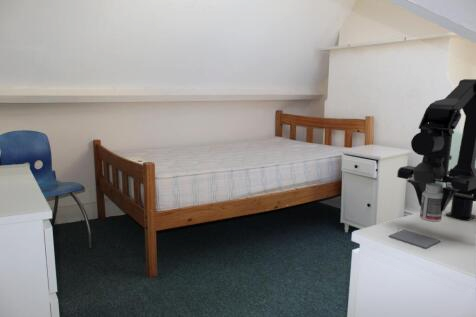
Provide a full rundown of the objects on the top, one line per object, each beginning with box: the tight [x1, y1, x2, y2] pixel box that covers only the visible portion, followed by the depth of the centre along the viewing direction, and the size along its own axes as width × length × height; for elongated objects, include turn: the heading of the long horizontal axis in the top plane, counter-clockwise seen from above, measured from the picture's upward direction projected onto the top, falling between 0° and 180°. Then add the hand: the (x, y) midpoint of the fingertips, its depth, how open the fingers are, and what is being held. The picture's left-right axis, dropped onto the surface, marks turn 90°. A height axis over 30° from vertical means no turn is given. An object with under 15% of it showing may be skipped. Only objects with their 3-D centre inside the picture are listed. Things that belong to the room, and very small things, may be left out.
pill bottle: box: [419, 182, 444, 223], centre depth 111 cm, size 5×5×10 cm
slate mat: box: [388, 228, 442, 250], centre depth 108 cm, size 8×10×1 cm
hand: (431, 208), depth 112 cm, fingers closed on pill bottle, 5 cm apart
